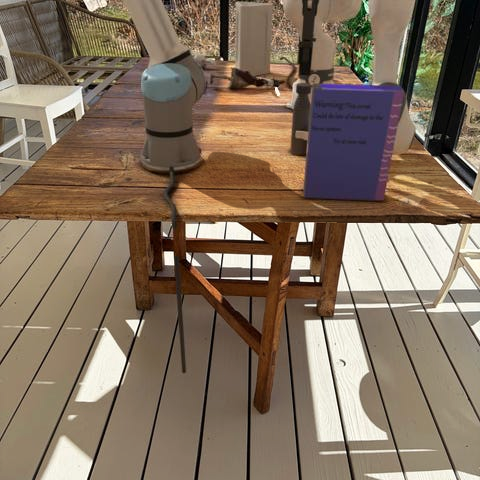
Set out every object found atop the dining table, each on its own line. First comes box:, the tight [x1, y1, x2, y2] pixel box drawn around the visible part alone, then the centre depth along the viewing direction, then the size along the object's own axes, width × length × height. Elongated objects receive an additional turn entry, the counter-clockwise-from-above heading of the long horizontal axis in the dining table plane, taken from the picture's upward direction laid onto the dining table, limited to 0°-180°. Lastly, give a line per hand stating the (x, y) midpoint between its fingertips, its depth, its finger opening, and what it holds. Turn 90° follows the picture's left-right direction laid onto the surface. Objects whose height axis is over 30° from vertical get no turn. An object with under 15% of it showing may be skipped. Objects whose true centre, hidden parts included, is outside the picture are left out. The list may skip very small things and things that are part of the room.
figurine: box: [209, 66, 287, 89], centre depth 190 cm, size 24×8×30 cm
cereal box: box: [302, 83, 405, 202], centre depth 102 cm, size 17×5×24 cm, turn 86°
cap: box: [296, 83, 311, 95], centre depth 122 cm, size 4×4×2 cm
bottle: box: [289, 94, 311, 156], centre depth 127 cm, size 5×5×18 cm
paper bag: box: [234, 1, 274, 77], centre depth 210 cm, size 19×15×28 cm
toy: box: [191, 50, 218, 67], centre depth 224 cm, size 24×25×7 cm
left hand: (304, 71), depth 120 cm, fingers open, 6 cm apart
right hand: (296, 130), depth 128 cm, fingers closed on bottle, 4 cm apart
